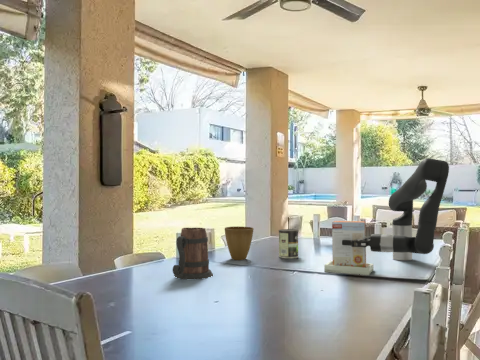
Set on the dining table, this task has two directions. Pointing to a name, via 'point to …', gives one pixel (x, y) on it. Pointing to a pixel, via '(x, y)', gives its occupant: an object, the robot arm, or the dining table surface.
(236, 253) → the plant pot
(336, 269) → the tray
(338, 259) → the cracker box
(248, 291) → the dining table surface
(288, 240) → the coffee can
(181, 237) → the tankard
